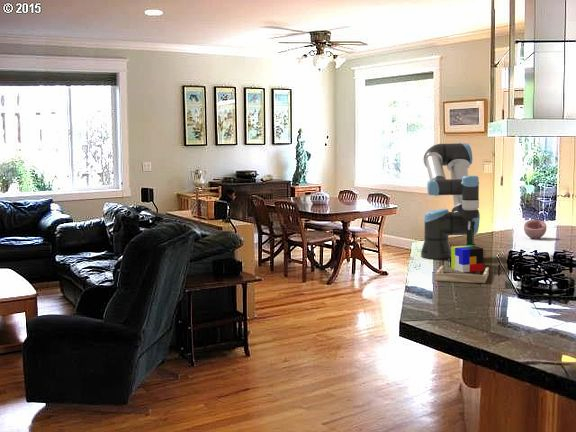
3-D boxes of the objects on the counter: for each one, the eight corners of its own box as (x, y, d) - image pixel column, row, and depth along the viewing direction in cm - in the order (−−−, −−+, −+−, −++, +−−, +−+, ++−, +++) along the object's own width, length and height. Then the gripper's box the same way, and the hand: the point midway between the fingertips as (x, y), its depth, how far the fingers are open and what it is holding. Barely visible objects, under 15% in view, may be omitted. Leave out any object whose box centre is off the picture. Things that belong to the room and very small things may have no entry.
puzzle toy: (462, 272, 288) (462, 249, 287) (451, 268, 298) (451, 246, 296) (483, 270, 291) (483, 248, 289) (471, 266, 300) (471, 245, 299)
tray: (441, 272, 289) (441, 265, 289) (488, 274, 282) (488, 267, 282) (434, 280, 273) (434, 273, 272) (485, 283, 265) (485, 275, 265)
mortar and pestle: (524, 240, 372) (524, 219, 371) (523, 236, 383) (523, 217, 382) (547, 240, 368) (547, 219, 367) (545, 237, 380) (545, 217, 378)
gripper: (463, 207, 311) (463, 257, 314) (460, 210, 299) (460, 261, 302) (480, 207, 309) (480, 257, 311) (477, 210, 297) (477, 262, 299)
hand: (470, 259), depth 307 cm, fingers closed
